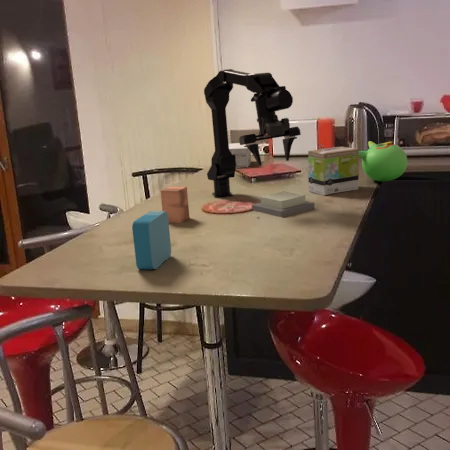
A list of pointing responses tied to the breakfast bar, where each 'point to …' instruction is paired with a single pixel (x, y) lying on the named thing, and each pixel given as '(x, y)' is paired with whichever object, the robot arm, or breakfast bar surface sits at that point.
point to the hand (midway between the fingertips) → (274, 163)
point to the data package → (151, 239)
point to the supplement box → (240, 154)
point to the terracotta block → (175, 203)
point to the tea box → (333, 170)
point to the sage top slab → (282, 200)
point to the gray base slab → (284, 211)
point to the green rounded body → (383, 161)
